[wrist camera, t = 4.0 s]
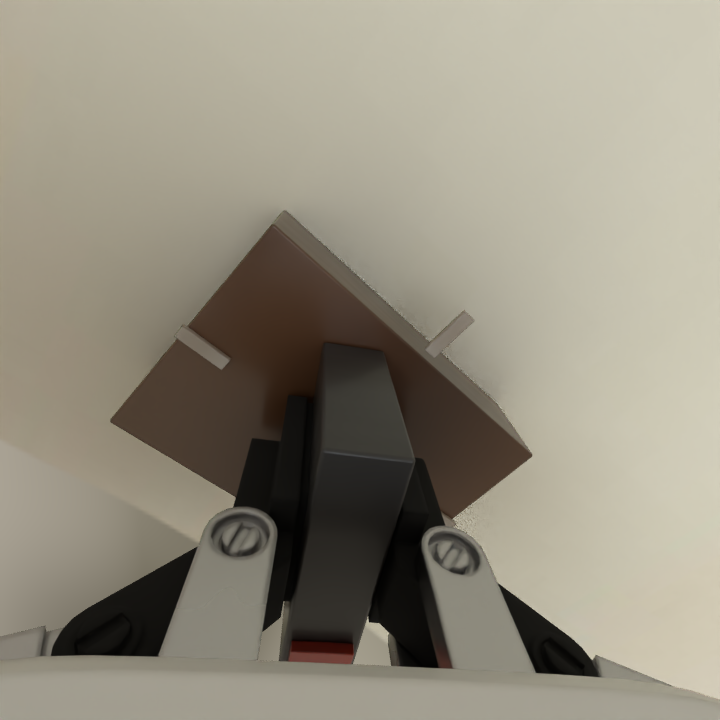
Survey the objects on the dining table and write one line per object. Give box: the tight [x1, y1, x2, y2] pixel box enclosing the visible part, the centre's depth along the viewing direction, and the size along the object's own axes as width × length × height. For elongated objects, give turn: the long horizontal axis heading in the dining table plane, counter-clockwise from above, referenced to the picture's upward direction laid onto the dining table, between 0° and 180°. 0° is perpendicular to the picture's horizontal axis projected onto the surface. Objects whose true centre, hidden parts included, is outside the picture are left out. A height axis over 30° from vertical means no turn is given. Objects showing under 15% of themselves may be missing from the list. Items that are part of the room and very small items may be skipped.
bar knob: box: [279, 343, 415, 664], centre depth 10 cm, size 6×2×5 cm, turn 169°
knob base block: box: [110, 210, 532, 527], centre depth 14 cm, size 10×10×3 cm
